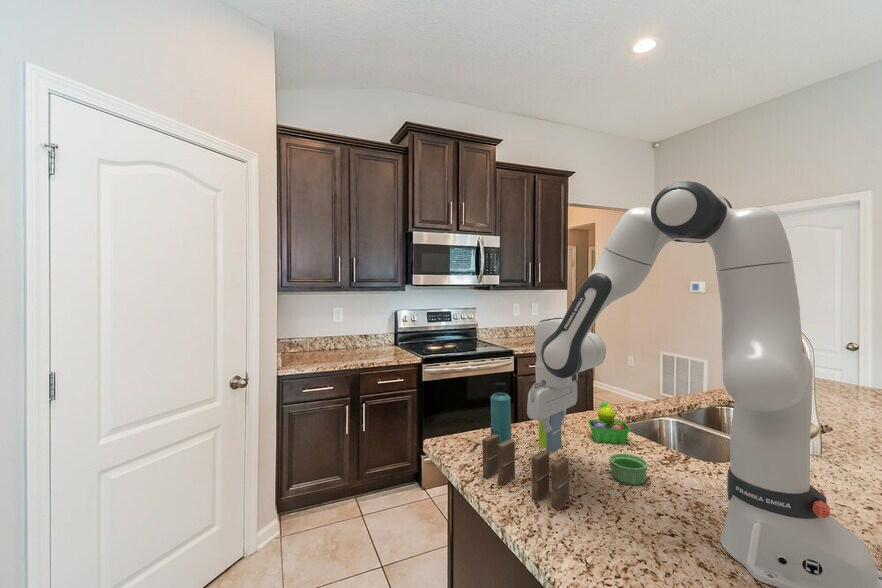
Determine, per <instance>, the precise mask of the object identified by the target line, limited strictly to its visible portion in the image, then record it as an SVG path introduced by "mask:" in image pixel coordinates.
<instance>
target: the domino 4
mask: <svg viewBox="0 0 882 588" xmlns="http://www.w3.org/2000/svg"><path fill="white" fill-rule="evenodd" d="M549 424H550V425H552V431H551V432H549V433H546V443H547V448H546V451H547V452H549V454H553V453H555V452H557V451H559V450H560V449H562V426H561V411H560V412H558V413H556V414H554V415H552V416H550V420H549Z"/></svg>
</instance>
